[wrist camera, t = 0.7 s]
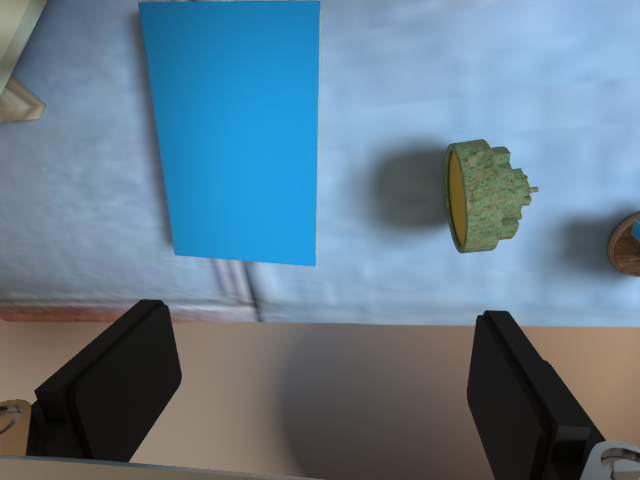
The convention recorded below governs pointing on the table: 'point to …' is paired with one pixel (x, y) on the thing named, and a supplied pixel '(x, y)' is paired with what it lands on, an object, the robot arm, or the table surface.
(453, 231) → the decorative artifact
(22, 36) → the striped cream block
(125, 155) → the table surface
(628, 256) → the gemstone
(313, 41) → the book
